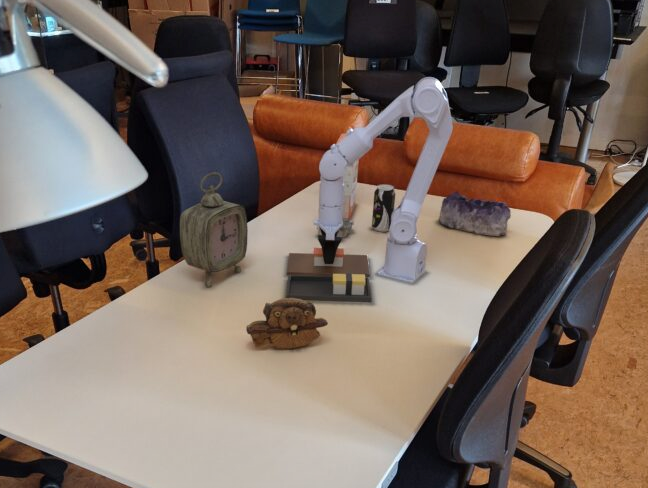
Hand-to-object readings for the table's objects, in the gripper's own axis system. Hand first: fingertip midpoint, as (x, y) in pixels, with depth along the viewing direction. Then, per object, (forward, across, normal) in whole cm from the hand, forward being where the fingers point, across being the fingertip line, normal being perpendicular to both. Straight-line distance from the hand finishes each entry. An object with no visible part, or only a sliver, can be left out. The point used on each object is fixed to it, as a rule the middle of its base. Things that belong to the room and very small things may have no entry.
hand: (328, 257), depth 178 cm
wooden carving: (+3, +40, -8) cm, 41 cm away
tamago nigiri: (+2, +14, +5) cm, 15 cm away
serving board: (+3, 0, 0) cm, 3 cm away
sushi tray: (+3, +14, 0) cm, 14 cm away
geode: (+3, -30, +41) cm, 51 cm away
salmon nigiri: (+2, 0, 0) cm, 2 cm away
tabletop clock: (+3, +8, -27) cm, 29 cm away
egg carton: (+3, -23, +2) cm, 23 cm away
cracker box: (+3, -42, +5) cm, 42 cm away
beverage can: (+3, -28, +15) cm, 32 cm away
